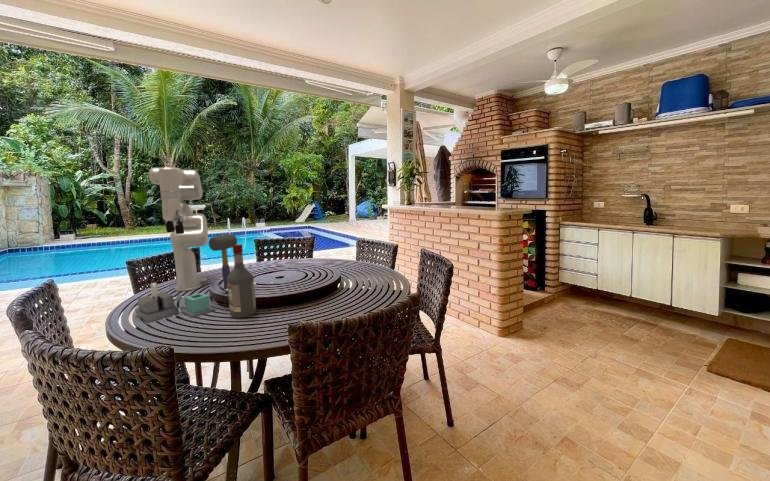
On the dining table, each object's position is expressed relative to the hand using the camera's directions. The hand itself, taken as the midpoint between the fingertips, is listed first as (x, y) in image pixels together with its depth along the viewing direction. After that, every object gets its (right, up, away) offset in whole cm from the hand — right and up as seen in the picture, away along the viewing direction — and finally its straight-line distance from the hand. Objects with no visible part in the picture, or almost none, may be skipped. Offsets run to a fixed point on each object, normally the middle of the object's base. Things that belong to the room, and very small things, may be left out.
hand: (175, 232), depth 162 cm
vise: (0, -35, -8) cm, 36 cm away
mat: (+14, -35, -7) cm, 38 cm away
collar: (+14, -34, -7) cm, 37 cm away
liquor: (+36, -35, -11) cm, 51 cm away
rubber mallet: (+16, -30, +19) cm, 39 cm away
